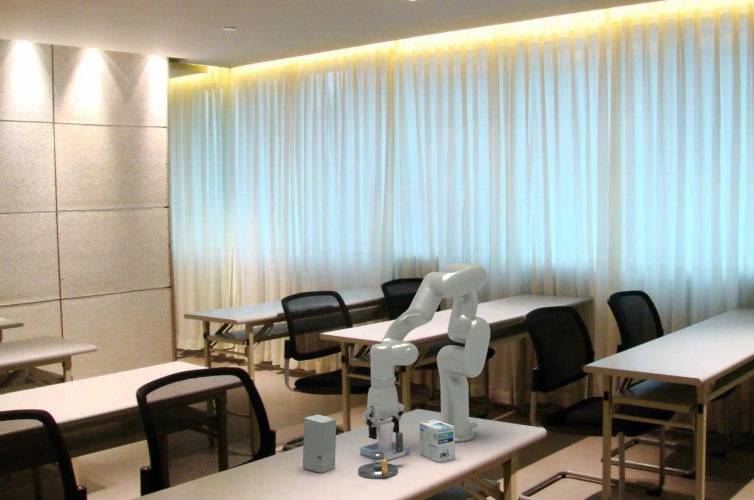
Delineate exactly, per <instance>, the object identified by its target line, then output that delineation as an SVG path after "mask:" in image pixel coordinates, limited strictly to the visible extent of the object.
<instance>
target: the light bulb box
mask: <svg viewBox="0 0 754 500" xmlns="http://www.w3.org/2000/svg"><path fill="white" fill-rule="evenodd" d="M419 446H420V447H419V449H420V451H419V452H420V456H423V457H425V458H427V459H430V460H432V461H434V462H437V463H442V462H449V461H453V460H456V442H455V429H454V426H453V425H450V424H446V423H444V422H441V420H438V419H430V420H425V421H420V422H419Z"/></svg>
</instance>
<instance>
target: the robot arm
mask: <svg viewBox="0 0 754 500" xmlns="http://www.w3.org/2000/svg"><path fill="white" fill-rule="evenodd" d="M443 270H444V271H442V272H441V271H432V272H429V273H427V274H426V275H425V276H424V278H423V279H422V281H421V284H420V285H419V287H418V289H417V291H416V292H415V293H416V294H415V296H414V297H413V299H412V301H411V303H410V305H409V307H408V309H407V310H405V312H403V313H401V315H399V316H398V317H397V318H396V319H395V320H394V321H393V322H392V323H391V324H390V325H389V327H388V328H387V330H386V333H385V334H384V336H383V338H382V340H381V342H380V343H376V344H373V345H371V347H370V356H369V358H370V385H371V386H370V387H369V389H368V393H367V403H366V404H367V405H366V407H367V408H366V410H365V411H364V412H363V413H362V414H361V417H362V419H363V422H364V424H366V426H367V427H368V438H369V439H371V440H377V427H375V425H376V423H377V422H378V421H382V420H385V418H387V419H388V418H389V419H390V418H392V419H390V421H392V422H394V427H393V433H395V434H396V433H398V432H400V421H401V418H402V416H403V414H404V412H403V411H404V410H405V405H404V404H402V403H401V402H399V398H398V397H399V396H398V391H397V386H396V385H395V381H396V380H397V377H396V376H395V366H410V365H412V364H414V363H415V362H416V361H417V360H418V357H419V349H418V348H417V346H416V345H415V344H413V343H412V342H408V341H404V340H405V339H406V337H407V336H408V335H409V333H411V332H412V331H413V330H415V329H418V328H420V327H423V326H424V325H427V324H428V323H430V322H431V321H432V320H433V318H434V316H435V314H436V311H437V310H438V308H439V305H441V304H440V303H441V302H442V300H443V299H448V300H449V299H453V303H452V307H451V312H450V315H449V316H450V318H449V321H448V326H447V336H448V338H449V339H451V340H452V341H453V342H456V343H461V344H464V346H460V345H455V344H454V345H451V344H449V345H445V346H443V347H442V348H441V349H440V350H439V351H438V353H437V357H436V363H437V364H436V365H437V369H438V373H439V374H438V375H439V382H440V414H441V415H440V416H441V417H440V419H441V420H440V421H441V422H444V423H446V424H450V425H453V426H454V429H455V443H459V442H467V441H471V440H472V439H474V437H475V435H474V434H475V433H474V432H473V431H472V429H474V428H477V427H478V426H479V423H478V422H477V421H473V422H470V411H469V410H470V408H469V407H470V406H469V403H470V402H469V398H470V397H469V382H468V379H467V378H471V379H473V378H476V377H478V376H479V375H480V374H481V373H482V371H483V368H484V367H485V363H486V359H487V355H488V349H489V344H490V340H491V328H490V324H489V323H488V321H487V320H486V319H485V318H482V317H479V316H477V314H478V304H479V299H478V298H479V297H478V295H477V292H476V291H477V290H480V289H481V288H482V287H483V286H484V285H485V284H486V282H487V279H488V273H487V270H486V268H484V266H483V265H481V264H478V263H467V262H453V263H452V262H451V263H449V264H447V265H446V266H445V268H444V269H443Z"/></svg>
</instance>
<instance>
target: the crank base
mask: <svg viewBox="0 0 754 500" xmlns="http://www.w3.org/2000/svg"><path fill="white" fill-rule="evenodd" d="M357 473H358V476H360V477H362V478H365V479H372V480H381V479H389V478H392V477H394V476H396V475H397V474H398V473H399V468H398V466H397V465H395V464H392V463H389V462H388V461H387V459H381V462H380V463H376V462H371V463H367V464H362V465H361V466H359V467H358V468H357Z"/></svg>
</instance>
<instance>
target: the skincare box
mask: <svg viewBox="0 0 754 500" xmlns="http://www.w3.org/2000/svg"><path fill="white" fill-rule="evenodd" d="M303 420H304V421H303V446H302V447H303V451H302V452H303V453H302V468H303V469H305V470H308V471H311V472H316V473H320V474H323V473H326V472H328V471H332V470H334V469H336V445H337V444H336V443H337V441H336V440H337V439H336V437H337V419H336V418H332V417H329V416H326V415H321V414H316V415H315V414H314V415H311V416H310V415H309V416H306V417H304V418H303Z"/></svg>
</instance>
